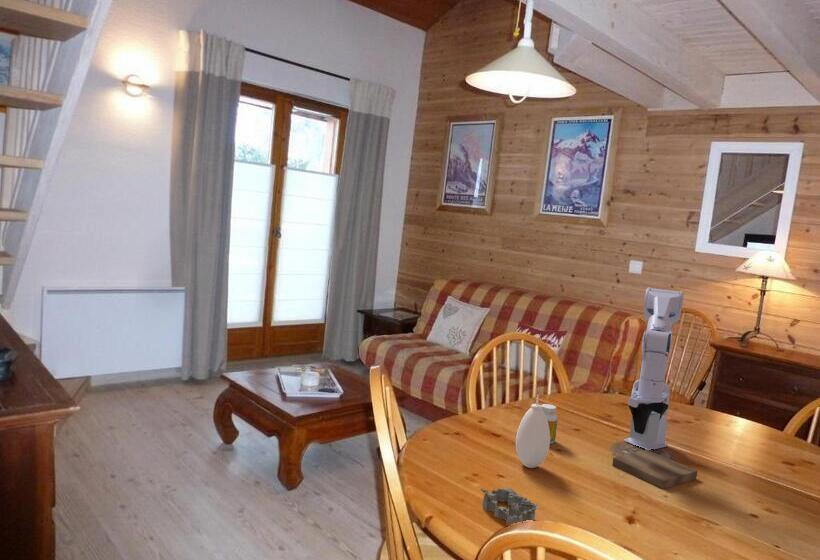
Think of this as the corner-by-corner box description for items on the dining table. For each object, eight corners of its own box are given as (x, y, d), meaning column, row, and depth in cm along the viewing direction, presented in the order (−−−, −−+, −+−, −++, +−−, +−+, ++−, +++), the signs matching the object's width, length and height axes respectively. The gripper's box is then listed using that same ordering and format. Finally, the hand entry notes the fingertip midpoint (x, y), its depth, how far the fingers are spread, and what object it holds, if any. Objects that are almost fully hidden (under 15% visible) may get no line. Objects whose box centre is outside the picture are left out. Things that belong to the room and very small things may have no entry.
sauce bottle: (507, 460, 145) (515, 389, 143) (535, 458, 147) (543, 389, 146) (524, 474, 137) (532, 400, 136) (552, 472, 140) (561, 399, 138)
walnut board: (645, 456, 156) (646, 449, 155) (696, 478, 144) (697, 470, 144) (612, 465, 148) (613, 457, 148) (662, 489, 136) (664, 481, 136)
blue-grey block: (640, 434, 151) (643, 408, 150) (656, 440, 147) (660, 413, 146) (629, 437, 148) (633, 410, 147) (645, 443, 144) (649, 415, 144)
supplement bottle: (555, 445, 158) (559, 410, 157) (534, 442, 159) (539, 407, 158) (554, 438, 163) (558, 404, 162) (534, 435, 164) (538, 401, 163)
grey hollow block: (476, 506, 121) (478, 487, 120) (503, 499, 125) (505, 481, 124) (512, 531, 112) (514, 511, 111) (540, 523, 116) (542, 503, 115)
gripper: (654, 371, 153) (647, 422, 155) (620, 376, 145) (613, 429, 146) (679, 379, 148) (672, 431, 149) (646, 384, 139) (639, 439, 140)
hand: (644, 431), depth 147 cm, fingers closed on blue-grey block, 5 cm apart
